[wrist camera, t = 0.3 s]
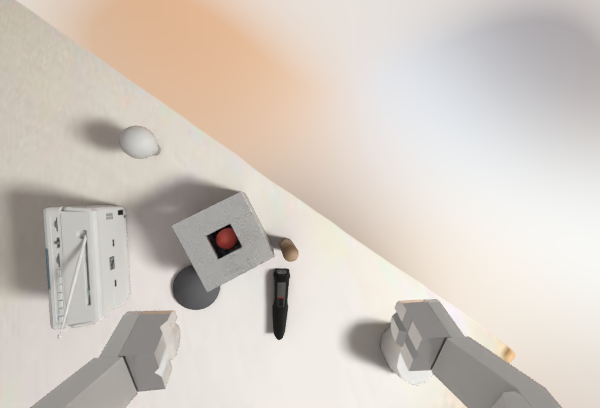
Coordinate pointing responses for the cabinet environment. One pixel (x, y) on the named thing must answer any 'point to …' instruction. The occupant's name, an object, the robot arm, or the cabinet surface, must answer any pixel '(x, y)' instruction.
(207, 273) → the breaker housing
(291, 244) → the walnut dowel
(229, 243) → the button
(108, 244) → the stereo radio cassette player
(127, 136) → the lightbulb
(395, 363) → the toilet tissue
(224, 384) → the cabinet surface
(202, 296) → the rubber coaster
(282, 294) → the electric trimmer
